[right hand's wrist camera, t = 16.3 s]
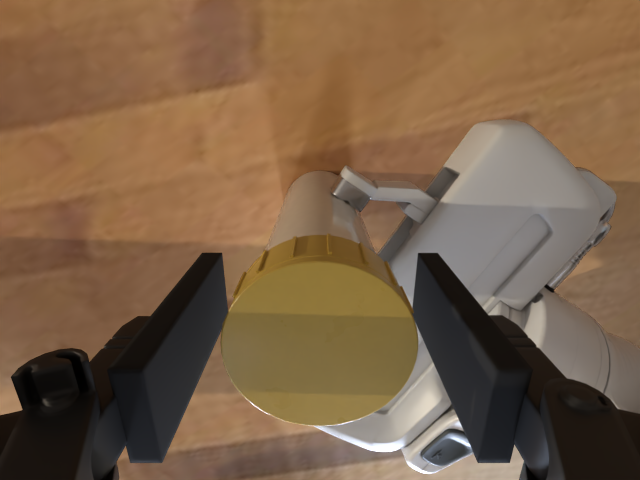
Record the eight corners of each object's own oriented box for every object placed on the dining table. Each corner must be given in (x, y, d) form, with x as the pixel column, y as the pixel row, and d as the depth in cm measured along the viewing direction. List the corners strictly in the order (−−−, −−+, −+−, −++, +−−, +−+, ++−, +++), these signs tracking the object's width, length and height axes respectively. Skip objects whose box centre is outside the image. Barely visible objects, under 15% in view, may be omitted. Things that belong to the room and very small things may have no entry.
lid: (294, 403, 14) (289, 454, 12) (199, 286, 12) (175, 322, 10) (432, 336, 13) (453, 379, 11) (350, 198, 11) (357, 218, 9)
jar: (286, 167, 25) (236, 257, 10) (358, 173, 25) (415, 269, 10) (283, 235, 26) (236, 398, 12) (350, 240, 27) (389, 407, 12)
